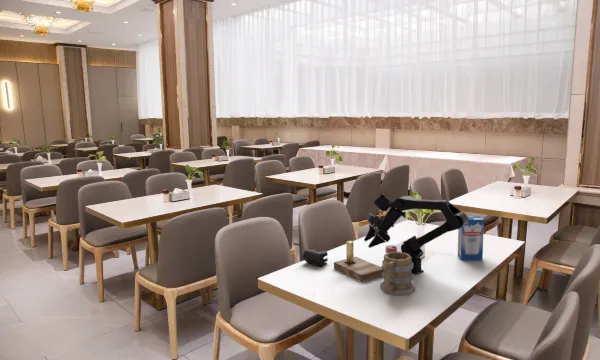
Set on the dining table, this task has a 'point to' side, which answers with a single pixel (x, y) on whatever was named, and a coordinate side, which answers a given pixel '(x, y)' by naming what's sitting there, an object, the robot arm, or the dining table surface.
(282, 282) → the dining table surface
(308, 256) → the end cap
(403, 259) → the tankard
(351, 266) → the hole block
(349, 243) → the peg
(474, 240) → the milk carton
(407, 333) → the dining table surface
